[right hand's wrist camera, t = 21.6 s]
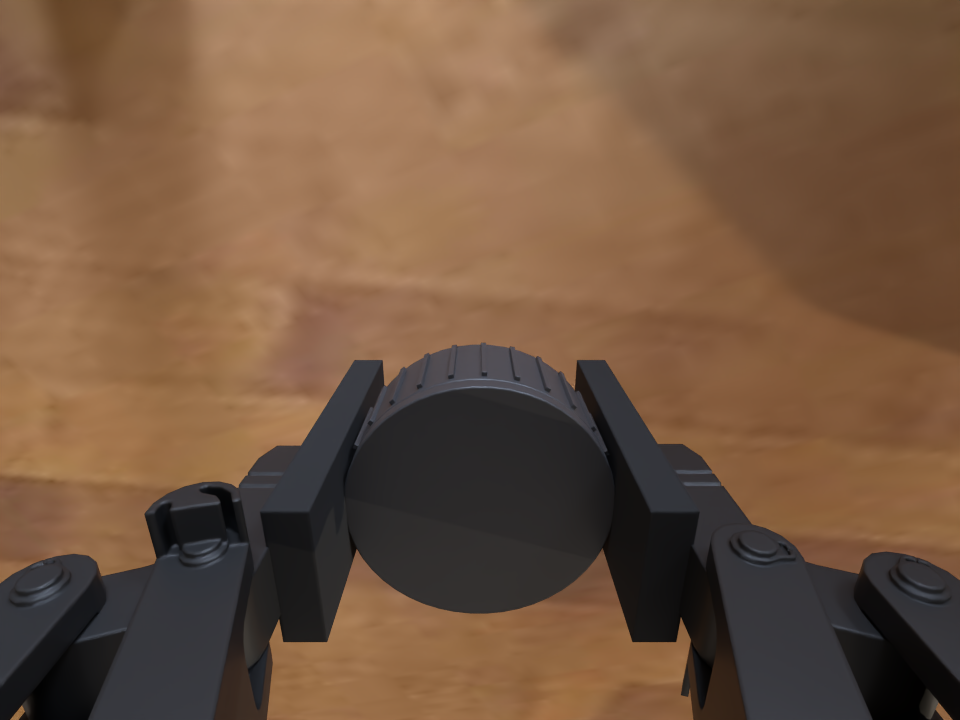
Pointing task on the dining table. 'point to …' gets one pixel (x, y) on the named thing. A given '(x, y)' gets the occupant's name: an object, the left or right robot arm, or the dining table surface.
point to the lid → (479, 482)
